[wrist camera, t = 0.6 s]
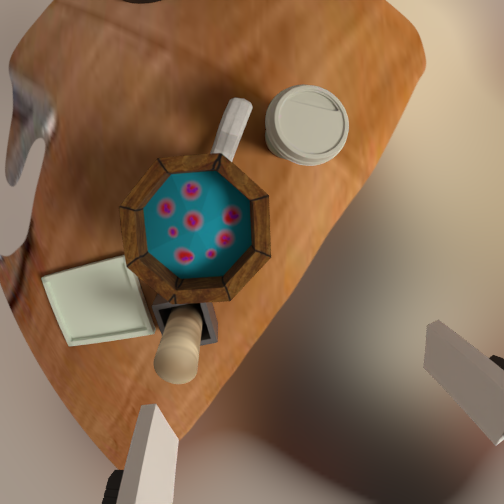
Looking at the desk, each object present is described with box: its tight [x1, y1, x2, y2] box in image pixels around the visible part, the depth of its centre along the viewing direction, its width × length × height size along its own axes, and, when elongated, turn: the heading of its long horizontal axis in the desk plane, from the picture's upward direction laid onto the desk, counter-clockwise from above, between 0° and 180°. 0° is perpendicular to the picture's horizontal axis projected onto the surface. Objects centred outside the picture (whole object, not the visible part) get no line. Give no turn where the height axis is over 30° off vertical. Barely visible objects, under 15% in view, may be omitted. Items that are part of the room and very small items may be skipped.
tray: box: [41, 255, 156, 346], centre depth 39 cm, size 12×16×1 cm
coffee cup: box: [265, 85, 349, 166], centre depth 31 cm, size 8×8×12 cm
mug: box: [119, 98, 271, 304], centre depth 31 cm, size 20×14×15 cm
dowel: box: [154, 303, 203, 384], centre depth 34 cm, size 4×4×14 cm
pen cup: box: [152, 294, 218, 346], centre depth 39 cm, size 7×7×6 cm
